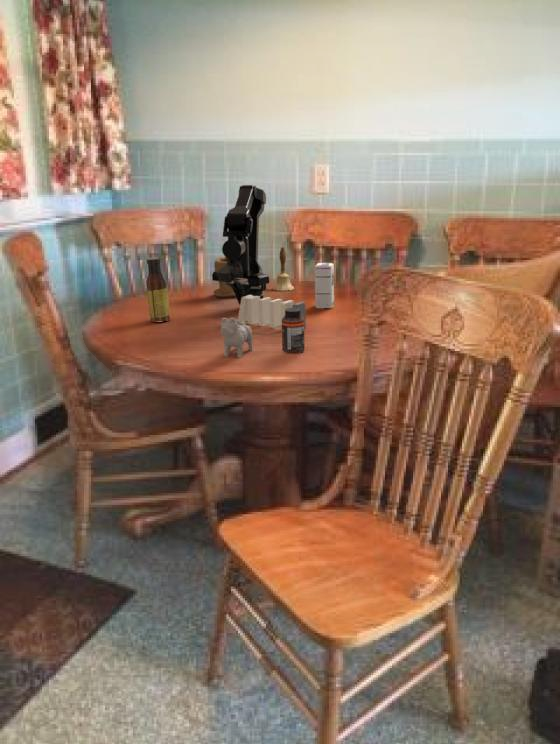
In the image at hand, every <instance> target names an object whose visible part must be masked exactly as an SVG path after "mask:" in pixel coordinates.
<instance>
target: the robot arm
mask: <svg viewBox="0 0 560 744" xmlns="http://www.w3.org/2000/svg"><path fill="white" fill-rule="evenodd" d="M238 189H239V190H238V197H237V199H236V203H235V205H234V207H233V208H231V209H229V210H228V212H227V213H226V216H225V217H224V221H223V230H222V237H223V238H224V237H225V238H227V240H226V241H225V242H224V243H223V244H222V248H221V251H222V254H223V257H226V258H228V259H227V265H225V266H223V267H222V268H221V269H219V270H218V271H215V270H214V271H213V272H212V275H211V279H212V281H215V282H219V281H220V282H227V283H226V284H227V285H229V286H230V287H231V288H232V289H233V291H234V293H235V295H236V296H235V298H236V300H237V302H238V305H239V306H240V304H241V298H242V297H244V296H247V295H253V296H260V299H263V298H264V294H263V291H267V284H270V276H269V275H268V274H267V273H264V272H263V268H262V266H261V265H260V262H259V261H258V259H259V233H260V232H259V231H260V229H259V226H260V217H261V215H262V214H263V213H264V210H265V205H266V204H267V195H266V192H265V190H264V189H261V188H258V187H257V186H256V185H254V184H246V185H245V184H242V185H240V186H239V188H238Z"/></svg>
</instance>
